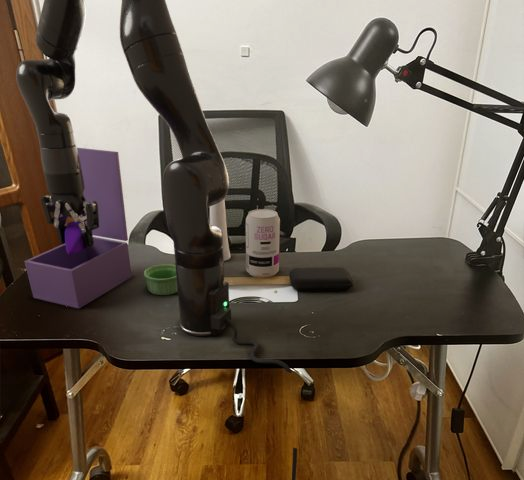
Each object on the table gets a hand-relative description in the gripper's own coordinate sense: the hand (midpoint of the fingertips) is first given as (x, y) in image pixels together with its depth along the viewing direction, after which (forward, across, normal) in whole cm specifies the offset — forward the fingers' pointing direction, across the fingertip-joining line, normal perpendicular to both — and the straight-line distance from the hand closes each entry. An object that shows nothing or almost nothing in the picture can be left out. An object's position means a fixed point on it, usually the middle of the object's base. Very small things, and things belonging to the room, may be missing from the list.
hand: (76, 244), depth 117 cm
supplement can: (+11, +35, +26) cm, 44 cm away
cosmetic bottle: (+11, +20, +30) cm, 38 cm away
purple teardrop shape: (+1, 0, 0) cm, 1 cm away
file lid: (-9, 0, +10) cm, 13 cm away
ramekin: (+11, +18, +7) cm, 22 cm away
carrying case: (+11, +50, +25) cm, 57 cm away
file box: (+10, 0, 0) cm, 10 cm away
